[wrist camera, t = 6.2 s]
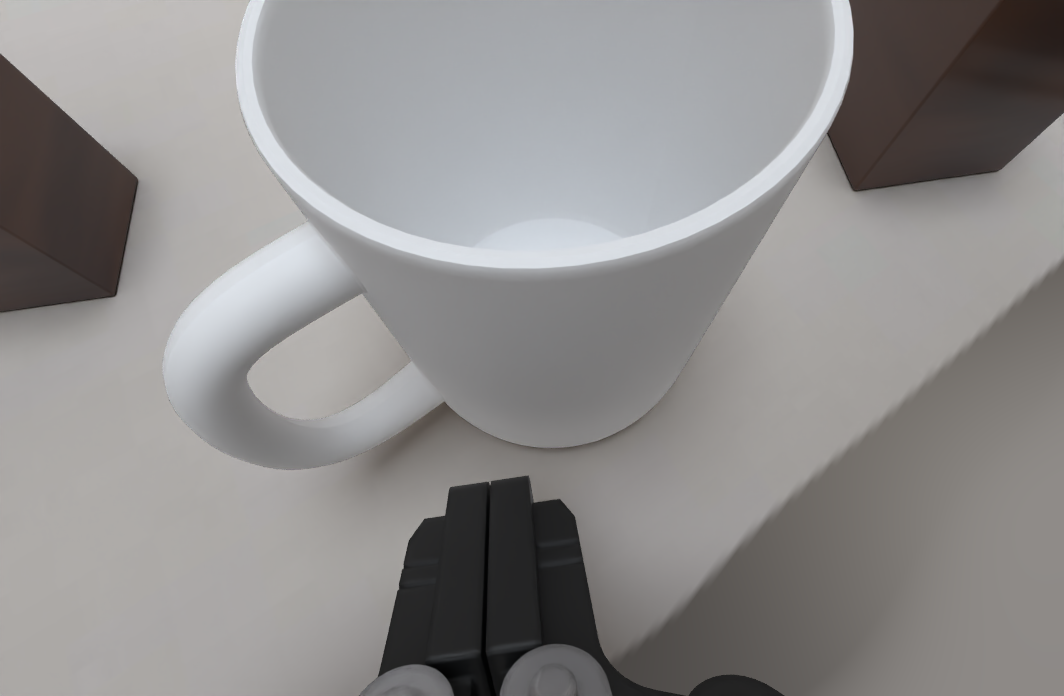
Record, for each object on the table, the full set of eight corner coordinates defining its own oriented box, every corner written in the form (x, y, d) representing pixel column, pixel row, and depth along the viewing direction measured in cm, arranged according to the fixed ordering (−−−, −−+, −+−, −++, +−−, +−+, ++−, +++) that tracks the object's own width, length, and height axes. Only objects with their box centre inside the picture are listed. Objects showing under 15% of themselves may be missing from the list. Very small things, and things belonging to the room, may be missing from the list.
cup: (744, 332, 16) (996, 6, 7) (425, 615, 14) (120, 726, 4) (563, 171, 19) (562, -222, 9) (269, 384, 16) (-130, 139, 7)
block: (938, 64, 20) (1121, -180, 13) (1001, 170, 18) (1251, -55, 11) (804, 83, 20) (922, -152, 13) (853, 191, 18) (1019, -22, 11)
